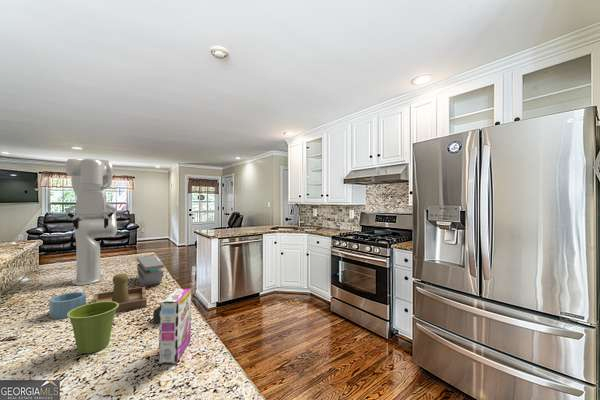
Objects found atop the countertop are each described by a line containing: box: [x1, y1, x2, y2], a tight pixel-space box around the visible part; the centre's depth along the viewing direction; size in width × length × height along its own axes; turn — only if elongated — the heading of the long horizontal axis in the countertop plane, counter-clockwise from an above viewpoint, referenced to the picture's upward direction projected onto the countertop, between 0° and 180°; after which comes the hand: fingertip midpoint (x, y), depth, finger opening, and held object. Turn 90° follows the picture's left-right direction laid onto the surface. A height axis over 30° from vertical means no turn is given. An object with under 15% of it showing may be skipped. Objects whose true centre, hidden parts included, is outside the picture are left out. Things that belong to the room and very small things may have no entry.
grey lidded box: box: [136, 255, 165, 287], centre depth 135 cm, size 25×8×11 cm, turn 39°
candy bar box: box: [158, 288, 192, 365], centre depth 74 cm, size 11×5×16 cm, turn 5°
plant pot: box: [67, 301, 119, 354], centre depth 76 cm, size 12×12×11 cm
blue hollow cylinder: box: [48, 291, 87, 320], centre depth 99 cm, size 10×10×6 cm
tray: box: [91, 286, 147, 314], centre depth 107 cm, size 18×18×3 cm
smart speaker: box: [152, 306, 160, 325], centre depth 95 cm, size 9×9×4 cm
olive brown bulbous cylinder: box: [112, 273, 129, 303], centre depth 107 cm, size 6×6×11 cm
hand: (91, 228), depth 113 cm, fingers open, 9 cm apart
